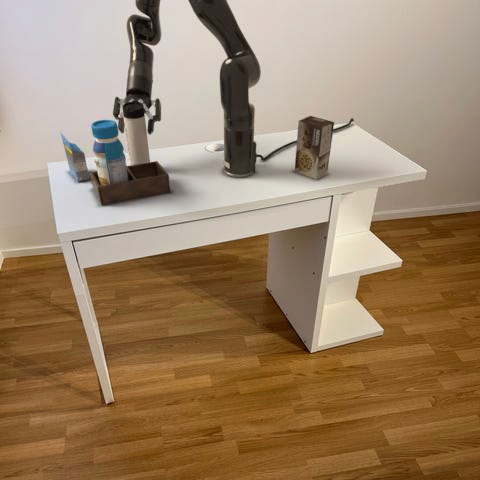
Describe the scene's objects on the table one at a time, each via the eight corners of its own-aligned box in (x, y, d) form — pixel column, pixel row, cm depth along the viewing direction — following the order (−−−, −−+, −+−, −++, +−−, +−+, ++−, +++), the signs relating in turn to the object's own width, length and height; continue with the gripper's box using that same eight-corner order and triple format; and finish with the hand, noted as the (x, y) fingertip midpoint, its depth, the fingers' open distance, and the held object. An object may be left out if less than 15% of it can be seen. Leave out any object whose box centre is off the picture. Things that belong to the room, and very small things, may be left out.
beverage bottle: (127, 200, 131) (116, 129, 118) (98, 200, 131) (83, 128, 118) (133, 187, 138) (123, 118, 125) (105, 187, 138) (92, 118, 125)
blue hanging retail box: (90, 179, 142) (82, 139, 134) (77, 182, 140) (68, 141, 132) (81, 169, 147) (72, 130, 139) (69, 172, 146) (59, 132, 138)
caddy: (159, 178, 143) (157, 160, 140) (170, 192, 136) (168, 174, 132) (93, 189, 137) (89, 171, 133) (101, 205, 129) (97, 187, 125)
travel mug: (153, 165, 150) (145, 100, 137) (148, 174, 145) (140, 107, 132) (134, 164, 151) (125, 99, 138) (128, 173, 146) (118, 106, 133)
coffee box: (328, 174, 147) (335, 121, 137) (316, 180, 144) (323, 127, 133) (305, 165, 152) (310, 114, 141) (293, 171, 148) (298, 119, 138)
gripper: (113, 73, 137) (108, 125, 136) (160, 74, 136) (155, 127, 135) (120, 87, 144) (116, 137, 143) (165, 89, 144) (161, 139, 142)
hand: (135, 132), depth 139 cm, fingers open, 8 cm apart
